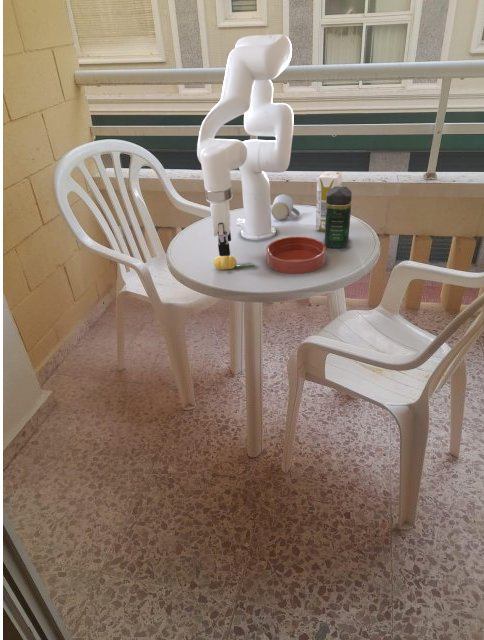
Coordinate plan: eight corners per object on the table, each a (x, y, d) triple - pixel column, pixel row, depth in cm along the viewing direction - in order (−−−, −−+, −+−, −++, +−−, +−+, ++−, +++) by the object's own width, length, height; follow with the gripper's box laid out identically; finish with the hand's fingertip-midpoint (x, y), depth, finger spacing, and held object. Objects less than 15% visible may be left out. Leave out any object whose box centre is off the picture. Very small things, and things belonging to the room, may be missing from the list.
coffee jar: (347, 251, 147) (351, 194, 137) (322, 249, 149) (324, 193, 138) (349, 238, 155) (353, 184, 144) (326, 237, 157) (328, 183, 146)
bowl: (256, 268, 141) (255, 255, 138) (283, 245, 154) (282, 233, 151) (310, 279, 133) (311, 266, 130) (334, 254, 146) (334, 241, 143)
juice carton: (314, 231, 162) (315, 177, 151) (320, 222, 168) (322, 170, 157) (335, 233, 159) (337, 178, 148) (340, 224, 166) (343, 171, 155)
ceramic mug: (270, 220, 172) (270, 201, 168) (274, 213, 179) (273, 193, 174) (298, 222, 170) (298, 201, 166) (301, 214, 177) (301, 194, 172)
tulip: (214, 272, 140) (212, 259, 138) (215, 265, 144) (213, 253, 142) (255, 270, 140) (254, 257, 137) (255, 263, 144) (254, 250, 141)
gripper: (207, 184, 136) (215, 236, 146) (203, 206, 122) (211, 262, 132) (232, 182, 135) (238, 235, 146) (231, 204, 122) (237, 260, 132)
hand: (225, 248), depth 139 cm, fingers open, 9 cm apart
